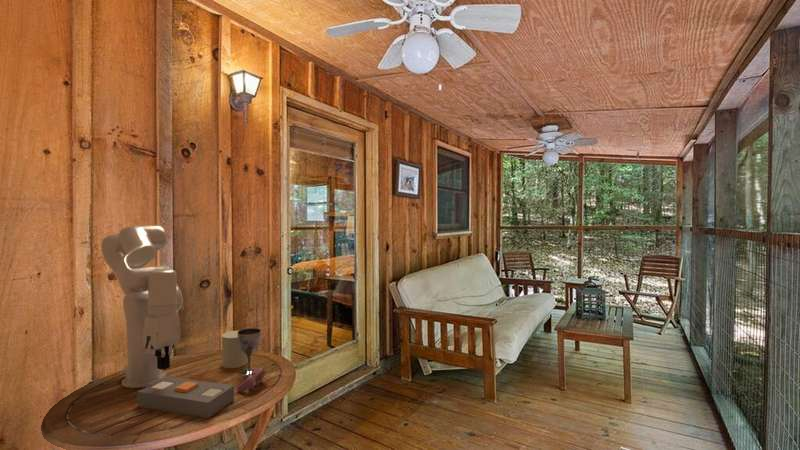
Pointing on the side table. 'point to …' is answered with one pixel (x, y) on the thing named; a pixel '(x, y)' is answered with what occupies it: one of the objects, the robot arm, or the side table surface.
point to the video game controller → (252, 380)
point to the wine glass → (248, 346)
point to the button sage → (211, 392)
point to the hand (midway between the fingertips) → (163, 368)
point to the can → (232, 351)
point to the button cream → (162, 385)
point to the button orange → (186, 387)
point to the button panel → (186, 398)
